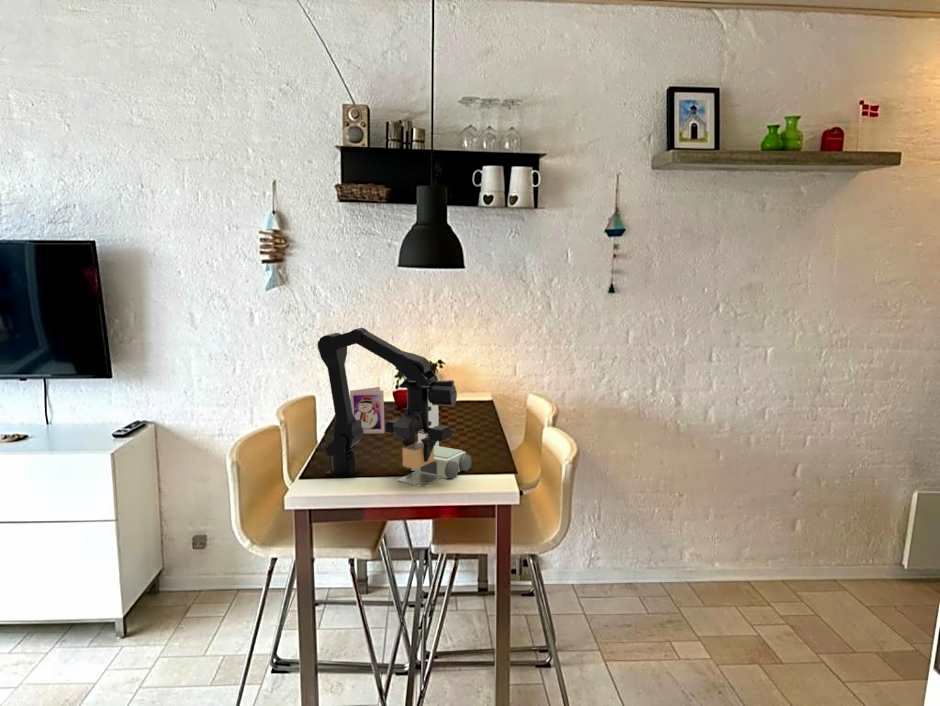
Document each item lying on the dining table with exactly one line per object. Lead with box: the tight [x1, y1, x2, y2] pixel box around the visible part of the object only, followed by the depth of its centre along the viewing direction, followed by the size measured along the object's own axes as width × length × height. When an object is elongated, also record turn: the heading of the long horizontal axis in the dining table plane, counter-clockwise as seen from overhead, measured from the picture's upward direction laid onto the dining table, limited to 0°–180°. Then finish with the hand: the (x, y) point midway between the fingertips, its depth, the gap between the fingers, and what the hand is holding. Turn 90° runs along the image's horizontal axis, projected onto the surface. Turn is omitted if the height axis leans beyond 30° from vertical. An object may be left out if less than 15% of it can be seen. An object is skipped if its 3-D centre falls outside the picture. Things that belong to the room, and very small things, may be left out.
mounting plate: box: [396, 471, 443, 488], centre depth 184 cm, size 9×8×1 cm
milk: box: [417, 400, 440, 446], centre depth 206 cm, size 6×6×22 cm
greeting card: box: [349, 386, 385, 434], centre depth 233 cm, size 11×7×15 cm, turn 90°
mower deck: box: [405, 445, 472, 479], centre depth 191 cm, size 15×12×5 cm
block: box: [402, 441, 434, 469], centre depth 182 cm, size 8×4×5 cm, turn 146°
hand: (418, 460), depth 183 cm, fingers closed on block, 5 cm apart
